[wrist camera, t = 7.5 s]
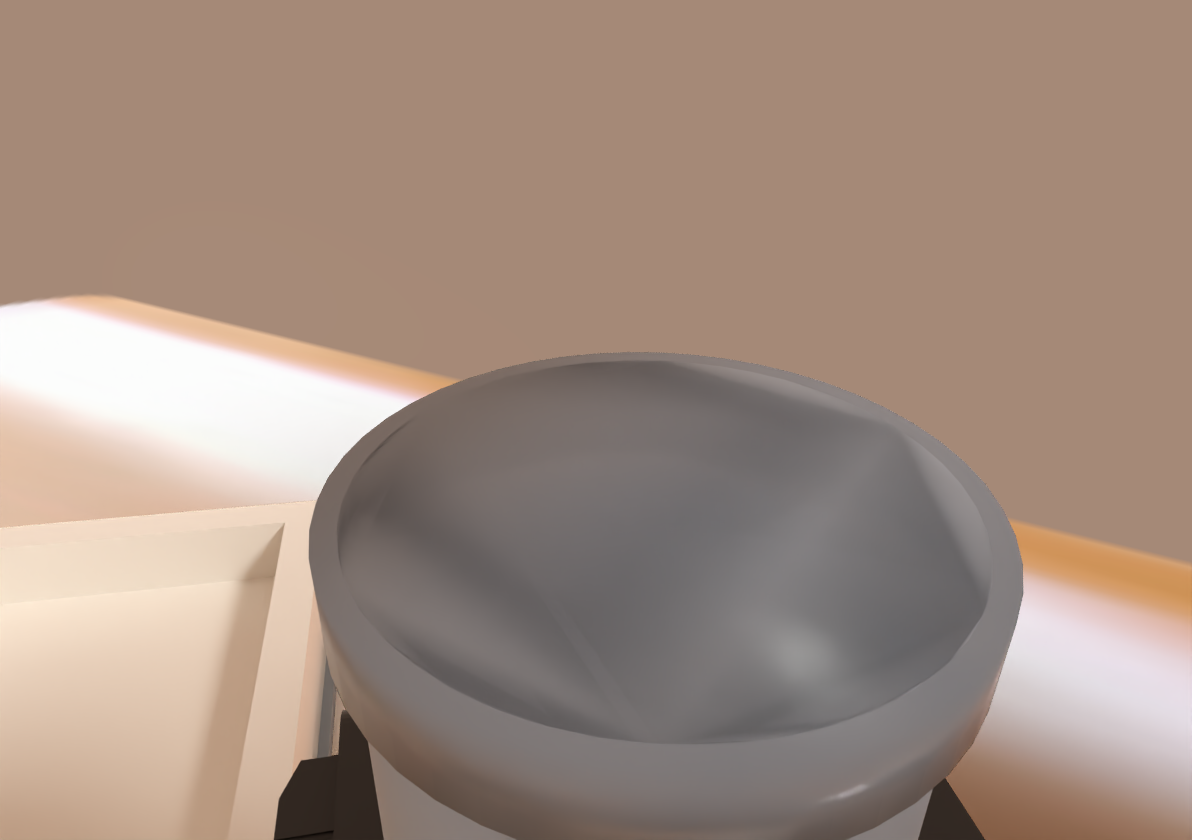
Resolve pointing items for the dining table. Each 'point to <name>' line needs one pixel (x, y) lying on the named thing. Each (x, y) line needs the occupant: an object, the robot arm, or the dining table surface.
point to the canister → (660, 605)
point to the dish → (157, 674)
